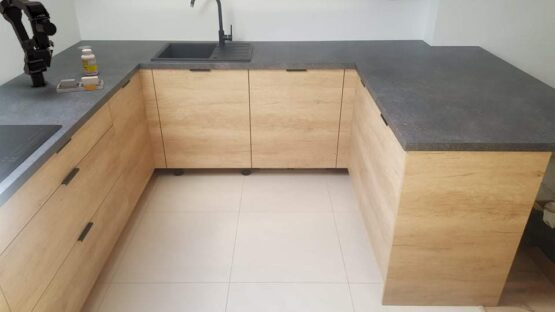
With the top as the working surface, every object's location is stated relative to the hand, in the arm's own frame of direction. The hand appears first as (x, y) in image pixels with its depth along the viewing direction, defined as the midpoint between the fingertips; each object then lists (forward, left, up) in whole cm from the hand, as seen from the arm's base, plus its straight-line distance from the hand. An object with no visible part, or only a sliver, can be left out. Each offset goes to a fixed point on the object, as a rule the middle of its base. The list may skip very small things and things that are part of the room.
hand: (48, 67), depth 186 cm
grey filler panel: (-2, +6, -12) cm, 13 cm away
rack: (-2, +11, -12) cm, 16 cm away
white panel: (-2, +16, -12) cm, 20 cm away
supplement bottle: (-25, +14, -12) cm, 31 cm away
